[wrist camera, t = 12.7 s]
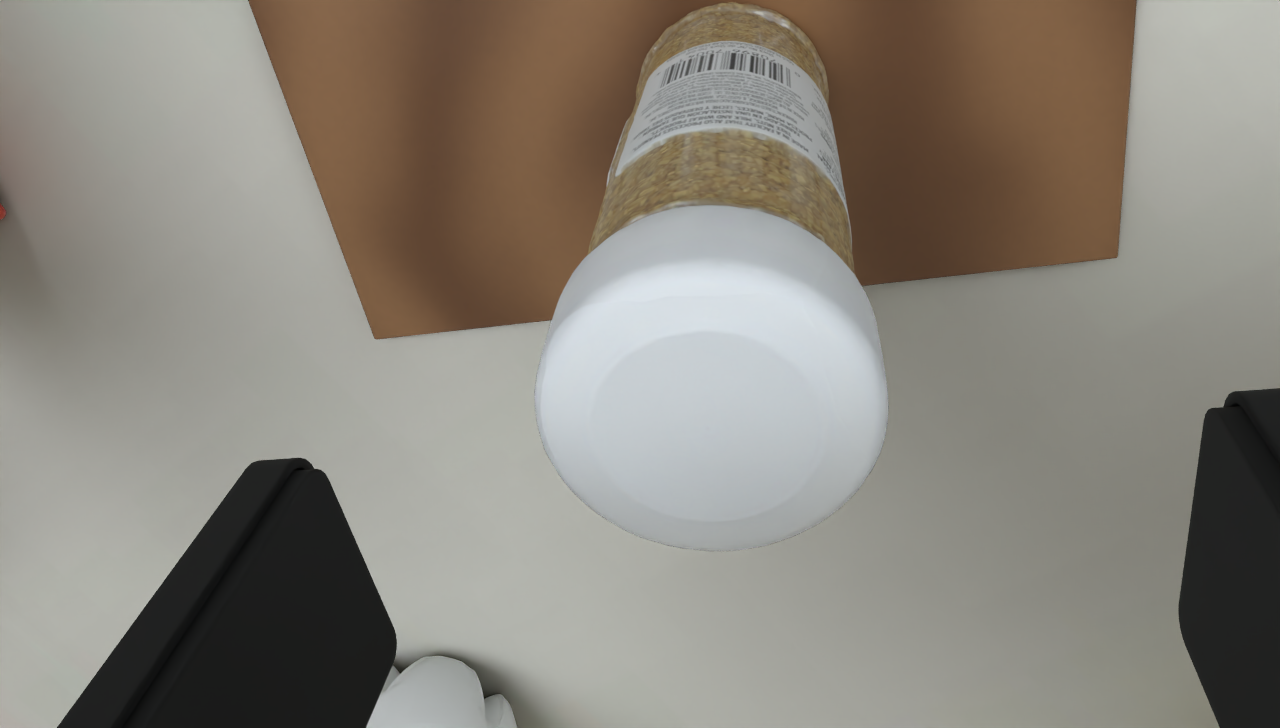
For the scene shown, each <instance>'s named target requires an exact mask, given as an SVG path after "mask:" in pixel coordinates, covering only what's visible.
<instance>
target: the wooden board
mask: <svg viewBox="0 0 1280 728" xmlns="http://www.w3.org/2000/svg"><path fill="white" fill-rule="evenodd" d="M248 1H249V4H250V7H251V9H252V12H253V15H254V17H255V20H256V23H257V25H258V28H259V31H260V33H261V36H262V39H263V41H264V44H265V47H266V49H267V52H268V55H269V57H270V60H271V63H272V65H273V68H274V71H275V73H276V76H277V79H278V81H279V84H280V87H281V89H282V92H283V95H284V97H285V100H286V103H287V106H288V108H289V111H290V114H291V116H292V119H293V122H294V124H295V127H296V130H297V132H298V135H299V138H300V140H301V143H302V146H303V148H304V151H305V154H306V156H307V159H308V162H309V164H310V167H311V170H312V172H313V175H314V178H315V180H316V183H317V186H318V188H319V191H320V194H321V196H322V199H323V202H324V204H325V207H326V210H327V213H328V215H329V218H330V221H331V223H332V226H333V229H334V231H335V234H336V237H337V239H338V242H339V245H340V247H341V250H342V253H343V255H344V258H345V261H346V263H347V266H348V269H349V271H350V274H351V277H352V279H353V282H354V285H355V287H356V290H357V293H358V295H359V298H360V301H361V303H362V306H363V309H364V311H365V314H366V317H367V320H368V322H369V325H370V328H371V330H372V333H373V336H374V338H375V339H384V338H393V337H402V336H411V335H420V334H429V333H439V332H448V331H457V330H466V329H475V328H484V327H493V326H502V325H511V324H520V323H529V322H539V321H548V320H552V318H553V315H554V312H555V309H556V306H557V303H558V301H559V298H560V296H561V294H562V292H563V290H564V288H565V286H566V284H567V282H568V280H569V279H570V277H571V275H572V273H573V272H574V271H575V269H576V268H577V267H578V265H579V264H580V263H581V262H582V260H583V259H584V258H585V257H586V256H587V254H588V251H589V245H590V241H591V238H592V234H593V231H594V229H595V226H596V223H597V220H598V216H599V212H600V207H601V205H602V203H603V199H604V196H605V191H606V188H607V178H608V173H609V170H610V167H611V164H612V161H613V158H614V155H615V152H616V148H617V145H618V143H619V140H620V137H621V134H622V131H623V129H624V126H625V124H626V121H627V120H628V119H629V117H630V116H631V114H632V112H633V109H634V106H635V103H636V99H637V98H636V88H637V84H638V81H639V77H640V73H641V68H642V65H643V62H644V60H645V58H646V56H647V54H648V52H649V51H650V49H651V48H652V46H653V45H654V43H655V42H656V41H657V40H658V39H659V38H660V37H661V35H662V34H663V32H664V31H665V30H666V29H667V28H668V27H670V26H672V25H674V24H675V23H676V22H677V21H679V20H680V19H682V18H683V17H685V16H686V15H687V14H689V13H691V12H693V11H696V10H698V9H700V8H703V7H707V6H713V5H716V4H719V3H728V2H735V3H738V4H754V5H758V6H760V7H762V8H766V9H771V10H773V11H776V12H778V13H779V14H781V15H783V16H784V17H786V18H788V19H789V20H790V21H791V22H793V23H794V24H795V25H796V26H797V27H799V28H800V29H801V30H802V31H803V32H804V33H805V34H806V36H807V37H808V38H809V39H810V41H811V42H812V43H813V45H814V47H815V48H816V50H817V52H818V55H819V57H820V59H821V61H822V63H823V65H824V67H825V71H826V75H827V83H828V89H829V100H828V109H829V112H830V115H831V119H832V124H833V128H834V134H835V139H836V145H837V150H838V156H839V162H840V167H841V174H842V181H843V187H844V192H845V198H846V204H847V209H848V215H849V221H850V226H851V236H852V256H853V262H854V272H855V275H856V278H857V279H858V281H859V283H860V284H861V286H866V285H875V284H884V283H893V282H902V281H911V280H920V279H929V278H938V277H947V276H957V275H966V274H975V273H984V272H993V271H1002V270H1011V269H1020V268H1029V267H1038V266H1047V265H1056V264H1066V263H1075V262H1084V261H1093V260H1102V259H1111V258H1117V256H1118V246H1119V232H1120V219H1121V205H1122V192H1123V178H1124V165H1125V151H1126V138H1127V124H1128V111H1129V97H1130V84H1131V70H1132V57H1133V43H1134V30H1135V16H1136V3H1137V0H248Z"/></svg>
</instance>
